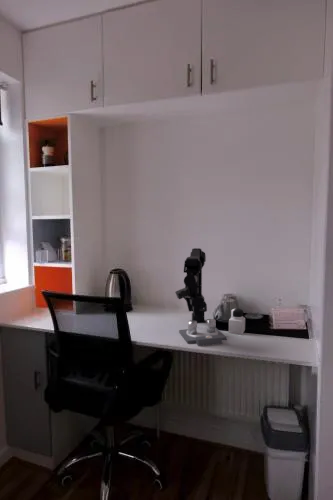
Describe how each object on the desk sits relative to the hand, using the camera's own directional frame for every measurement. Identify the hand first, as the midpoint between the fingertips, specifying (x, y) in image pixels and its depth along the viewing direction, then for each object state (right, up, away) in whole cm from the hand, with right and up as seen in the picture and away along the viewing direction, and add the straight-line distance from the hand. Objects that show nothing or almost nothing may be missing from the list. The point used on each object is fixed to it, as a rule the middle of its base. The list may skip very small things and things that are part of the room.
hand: (192, 313), depth 163 cm
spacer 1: (0, -10, +1) cm, 10 cm away
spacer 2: (+10, -10, +3) cm, 14 cm away
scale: (+5, -12, 0) cm, 13 cm away
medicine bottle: (+24, -11, +9) cm, 28 cm away
